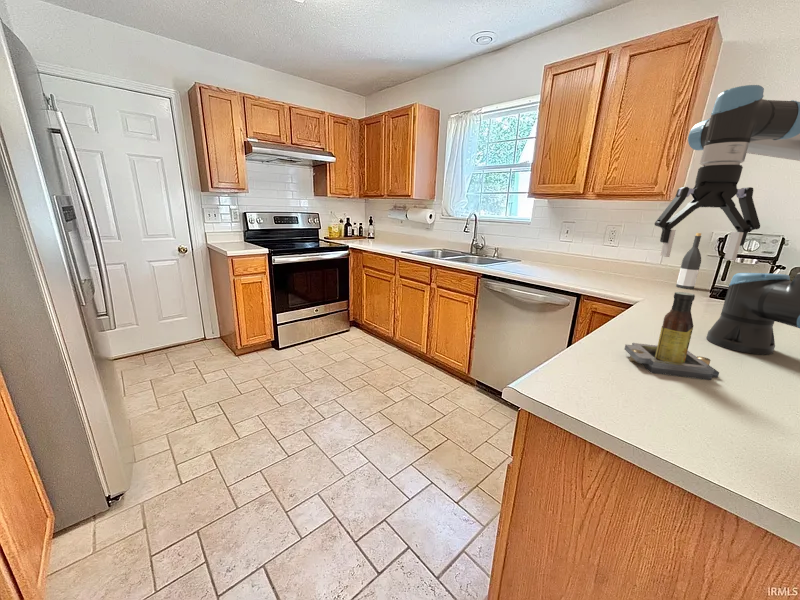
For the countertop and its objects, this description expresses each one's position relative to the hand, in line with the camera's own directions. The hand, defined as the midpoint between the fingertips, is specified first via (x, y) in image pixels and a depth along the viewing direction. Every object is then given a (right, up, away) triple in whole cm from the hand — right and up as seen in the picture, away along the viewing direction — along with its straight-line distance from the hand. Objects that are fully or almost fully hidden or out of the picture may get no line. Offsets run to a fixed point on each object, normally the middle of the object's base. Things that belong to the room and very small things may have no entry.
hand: (696, 257), depth 82 cm
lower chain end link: (0, -28, +7) cm, 29 cm away
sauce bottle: (-1, -28, +8) cm, 29 cm away
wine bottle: (+87, -4, +106) cm, 137 cm away
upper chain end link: (-2, -28, +8) cm, 29 cm away
